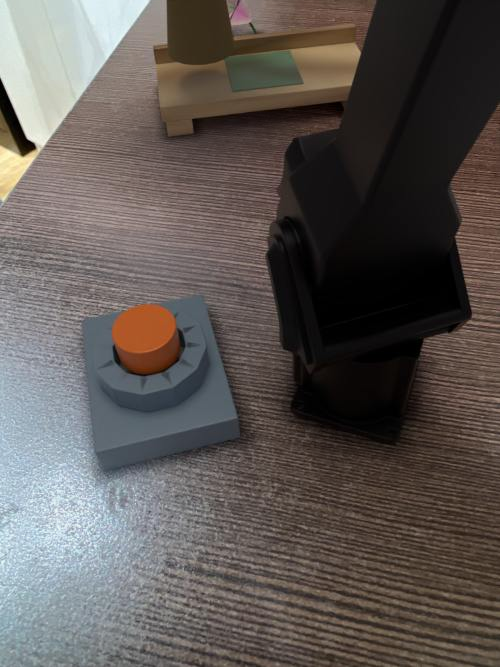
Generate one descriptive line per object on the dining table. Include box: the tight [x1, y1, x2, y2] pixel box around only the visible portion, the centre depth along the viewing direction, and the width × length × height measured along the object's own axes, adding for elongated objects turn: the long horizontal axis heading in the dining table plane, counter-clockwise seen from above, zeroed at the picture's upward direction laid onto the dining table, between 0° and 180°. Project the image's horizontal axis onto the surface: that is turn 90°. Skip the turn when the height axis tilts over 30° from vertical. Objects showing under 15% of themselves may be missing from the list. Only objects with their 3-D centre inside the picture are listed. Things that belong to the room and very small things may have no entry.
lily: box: [226, 0, 259, 34], centre depth 65 cm, size 12×12×10 cm
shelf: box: [152, 23, 361, 138], centre depth 58 cm, size 9×20×4 cm, turn 99°
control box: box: [81, 293, 241, 472], centre depth 36 cm, size 10×8×4 cm
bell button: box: [112, 303, 181, 375], centre depth 34 cm, size 4×4×2 cm
